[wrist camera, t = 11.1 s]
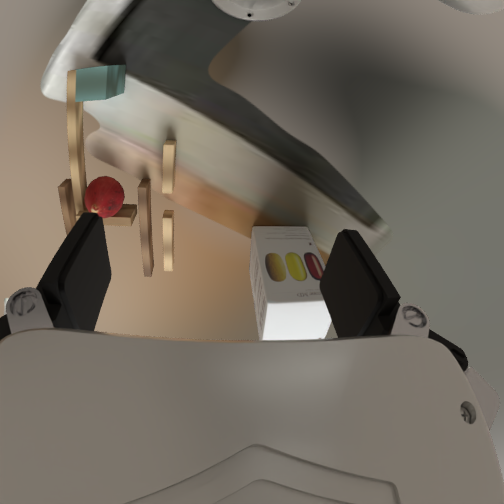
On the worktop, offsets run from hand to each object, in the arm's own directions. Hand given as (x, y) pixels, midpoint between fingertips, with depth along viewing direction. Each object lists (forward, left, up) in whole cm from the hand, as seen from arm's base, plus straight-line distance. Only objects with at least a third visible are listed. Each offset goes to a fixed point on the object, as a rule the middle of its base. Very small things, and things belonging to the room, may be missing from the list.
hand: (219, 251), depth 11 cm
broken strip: (+14, -6, -30) cm, 34 cm away
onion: (+11, -15, -30) cm, 36 cm away
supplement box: (+21, +12, -31) cm, 39 cm away
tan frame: (+4, -16, -30) cm, 34 cm away
